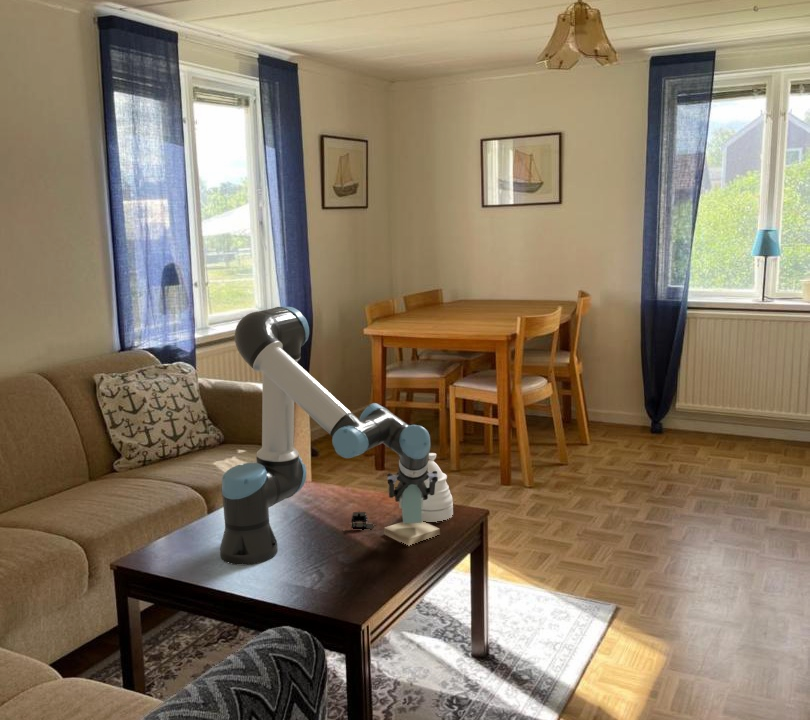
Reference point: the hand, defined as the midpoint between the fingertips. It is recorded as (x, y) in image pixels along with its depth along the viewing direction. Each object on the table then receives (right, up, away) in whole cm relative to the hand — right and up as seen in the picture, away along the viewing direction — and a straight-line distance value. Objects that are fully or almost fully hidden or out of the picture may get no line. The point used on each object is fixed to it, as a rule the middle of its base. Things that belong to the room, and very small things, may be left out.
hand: (410, 503), depth 237 cm
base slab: (0, -9, -2) cm, 9 cm away
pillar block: (0, -4, -3) cm, 5 cm away
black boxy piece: (-15, -8, +5) cm, 17 cm away
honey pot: (+6, -6, +13) cm, 15 cm away
